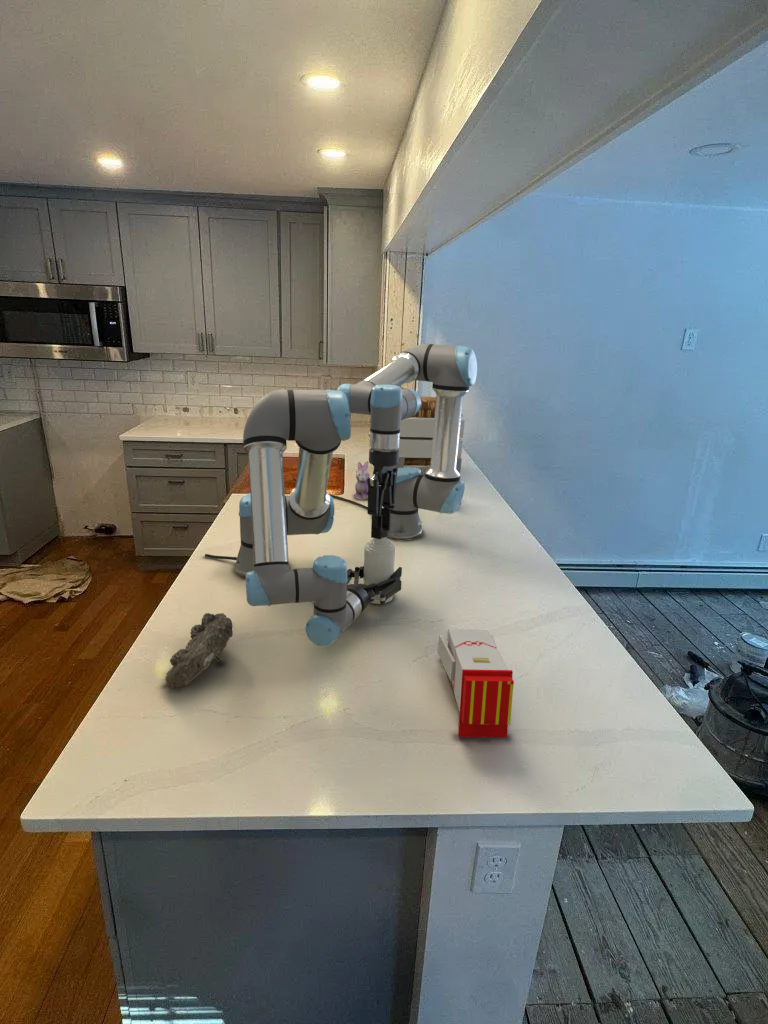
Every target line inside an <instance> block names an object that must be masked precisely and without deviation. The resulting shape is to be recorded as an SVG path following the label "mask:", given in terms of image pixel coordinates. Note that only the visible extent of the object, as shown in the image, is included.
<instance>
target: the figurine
mask: <svg viewBox="0 0 768 1024" xmlns="http://www.w3.org/2000/svg"><path fill="white" fill-rule="evenodd" d="M369 464H370V463H369V460H367V461H365V463H364V464H363V465H362V462H360V461H358V462H357V472H356V474H355V478H356V480H357V481H356V483H355V488H354V489H355V493H354V497H355V499H356V500H361V501H362V500H363V501H364V500H368V483H367V479H368V478H370V473H369V471H368V468H369Z"/></svg>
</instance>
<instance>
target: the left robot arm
mask: <svg viewBox="0 0 768 1024" xmlns="http://www.w3.org/2000/svg"><path fill="white" fill-rule="evenodd" d="M337 390H338V389H329V388H328V389H276V390H272V391H271V392H268V393H267V394H266V395H263V397H261V398H260V399H259V400H258V401H257V402H256V404H255V405H254V406H253V408H252V409H251V411H250V413H249V415H248V417H247V419H246V422H245V424H244V428H243V429H244V430H243V433H242V444H243V445H242V447H243V450H244V452H245V453H246V454H247V456H248V471H249V472H248V473H249V492H248V493H247V494H244V495H243V496H242V497H241V499H240V500H239V505H238V508H239V510H238V516H239V532H240V533H239V534H240V535H239V536H240V546H239V550H238V552H237V556H227V555H224V556H223V555H215V554H209V553H205V554H204V557H206V558H209V559H216V560H229V561H235V564H234V565H235V566H234V567H235V572H236V573H237V574H238V575H240V576H241V577H244V578H245V592H246V593H245V595H246V603H247V604H248V605H249V606H250V607H262V606H263V607H264V606H266V607H271V606H276V605H287V604H301V603H312V604H313V606H312V608H313V612H312V615H311V616H310V617H309V618H308V620H307V621H306V623H305V626H304V629H305V630H304V631H305V635H306V637H307V638H308V640H309V641H310V642H311V643H312V644H314V645H316V646H318V647H321V648H322V647H323V648H324V647H328V646H331V645H332V644H333V643H334V642H335V641H337V640H338V639H339V638H340V637H341V636H342V634H344V633H345V632H346V630H347V629H348V628H349V627H350V625H352V624H353V623H354V621H356V619H358V617H359V616H360V615H361V614H362V613H363V612H364V611H365V610H366V609H367V608H368V607H369V605H370V604H371V603H370V602H372V601H374V600H379V601H380V603H381V604H380V605H385V604H386V603H385V601H386V600H387V599H388V598H390V597H391V596H393V597H394V596H395V595H396V594H397V593H399V592H400V591H402V583H403V582H402V580H401V577H402V575H403V574H402V573H403V567H402V566H399V567H398V568H397V569H396V570H394V573H393V574H392V575H391V576H390V579H388V580H386V581H383V582H380V583H378V584H374V583H373V584H370V585H364V584H363V583H360V579H361V580H363V577H364V565H363V566H355V567H354V570H353V569H352V568H348V564H347V562H346V560H345V559H344V558H342V557H341V556H337V555H333V554H326V555H323V556H318V557H317V558H315V559H314V561H313V563H312V567H300V568H290V564H289V547H288V536H301V535H320V534H326V533H328V532H330V530H331V529H332V528H333V524H334V521H335V503H334V497H332V496H331V495H329V494H330V493H328V492H327V491H328V485H329V479H330V473H331V467H332V461H333V455H334V454H333V453H334V452H335V451H337V450H338V449H339V447H340V445H341V443H342V442H343V441H348V440H350V439H351V436H352V435H351V434H352V433H351V431H352V429H351V427H352V425H351V413H349V406H348V401H347V397H346V395H345V393H344V392H342V391H337ZM287 441H288V442H289V441H290V442H292V441H294V442H295V443H296V445H297V446H298V456H297V457H298V458H297V469H296V478H295V479H296V482H295V487H294V488H293V489H292V490H291V492H290V494H289V495H286V493H285V492H286V490H285V489H286V488H285V474H284V473H285V472H284V458H283V457H284V455H283V454H284V452H285V451H286V450H287V448H288V447H287ZM352 579H353V583H350V582H351V581H352Z"/></svg>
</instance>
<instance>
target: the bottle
mask: <svg viewBox="0 0 768 1024" xmlns="http://www.w3.org/2000/svg"><path fill="white" fill-rule="evenodd" d="M395 560H396V545H395V544H394V543H393V542H392V541H391V540H390V539H389V538H387V537H384V538H382V539H376V538H372V539H370V540H368V541H367V542H366V543H365V545H364V553H363V566H364V577H363V578H362V584H364V585H370V584H373V583H374V584H378V583H380V582H383V581H386V580H388V579H390V576H391V575H392V574H393V573H394V572H395ZM393 597H394V595H393V596H391V597H390V598H388V599H387V600H386V601H385V603H384V604H387V603H390V602H391V601H392V600H393ZM369 604H376V605H382V604H381V603H380V601H379V600H374V601H372V602H370V603H369Z"/></svg>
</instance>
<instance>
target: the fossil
mask: <svg viewBox="0 0 768 1024" xmlns="http://www.w3.org/2000/svg"><path fill="white" fill-rule="evenodd" d="M233 627H234V625H233V621H232V619H231V618H230V617H227V615H226V614H225V613H224V612H221V613H220V612H219V613H215V614H214V613H210V612H208V613H207V612H205V613H204V614H203V616H202V618H201V622H200V624H199V623H198V624H195V625H194V626H192V627H191V629H190V636H189V637H190V638H191V639H190V640H189V641H188V642H187V645H186V646H185V648H180V649H178V650H177V652H175V653H174V654H173V655H171V657H170V659H169V663H170V665H171V666H172V667H171V668H170V670H168V671H167V672H166V676H165V681H166V685H167V686H171V687H172V688H179V687H183V686H187V685H189V684H190V683H191V682H192V681H193V680H194V679H195V678H197V677H198V676H199V675H200V674H201V673H202V672H204V670H206V669H207V668H208V667H209V665H210V664H211V662H212V661H213V660H215V659H216V660H217V661H218V662H219V664H222V663H223V660H222V659H221V658H220V657H219V656H218V654H219V653H220V652H223V650H224V649H225V648H226V647H227V644H228V642H229V641H230V639H231V638H232V637H233V636H234V635H233V634H234V633H233V632H234V630H233Z"/></svg>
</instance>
